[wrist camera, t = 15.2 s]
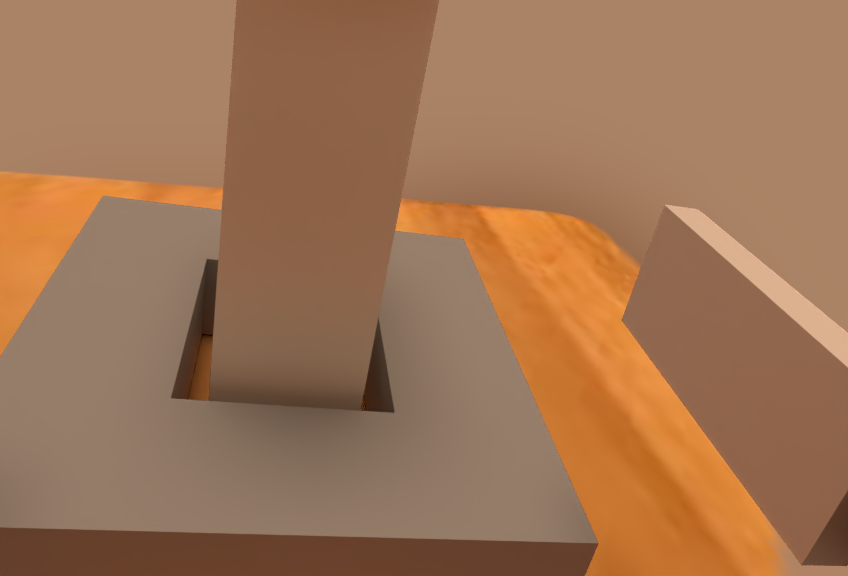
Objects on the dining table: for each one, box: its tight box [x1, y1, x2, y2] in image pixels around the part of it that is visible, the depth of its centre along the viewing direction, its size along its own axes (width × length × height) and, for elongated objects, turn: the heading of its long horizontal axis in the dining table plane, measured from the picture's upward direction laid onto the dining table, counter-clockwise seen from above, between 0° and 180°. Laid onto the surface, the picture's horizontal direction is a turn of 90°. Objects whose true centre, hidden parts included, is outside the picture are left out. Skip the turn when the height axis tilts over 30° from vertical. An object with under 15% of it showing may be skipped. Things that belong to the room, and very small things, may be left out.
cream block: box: [208, 0, 439, 411], centre depth 20 cm, size 4×9×15 cm, turn 8°
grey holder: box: [0, 196, 598, 576], centre depth 22 cm, size 14×16×3 cm
